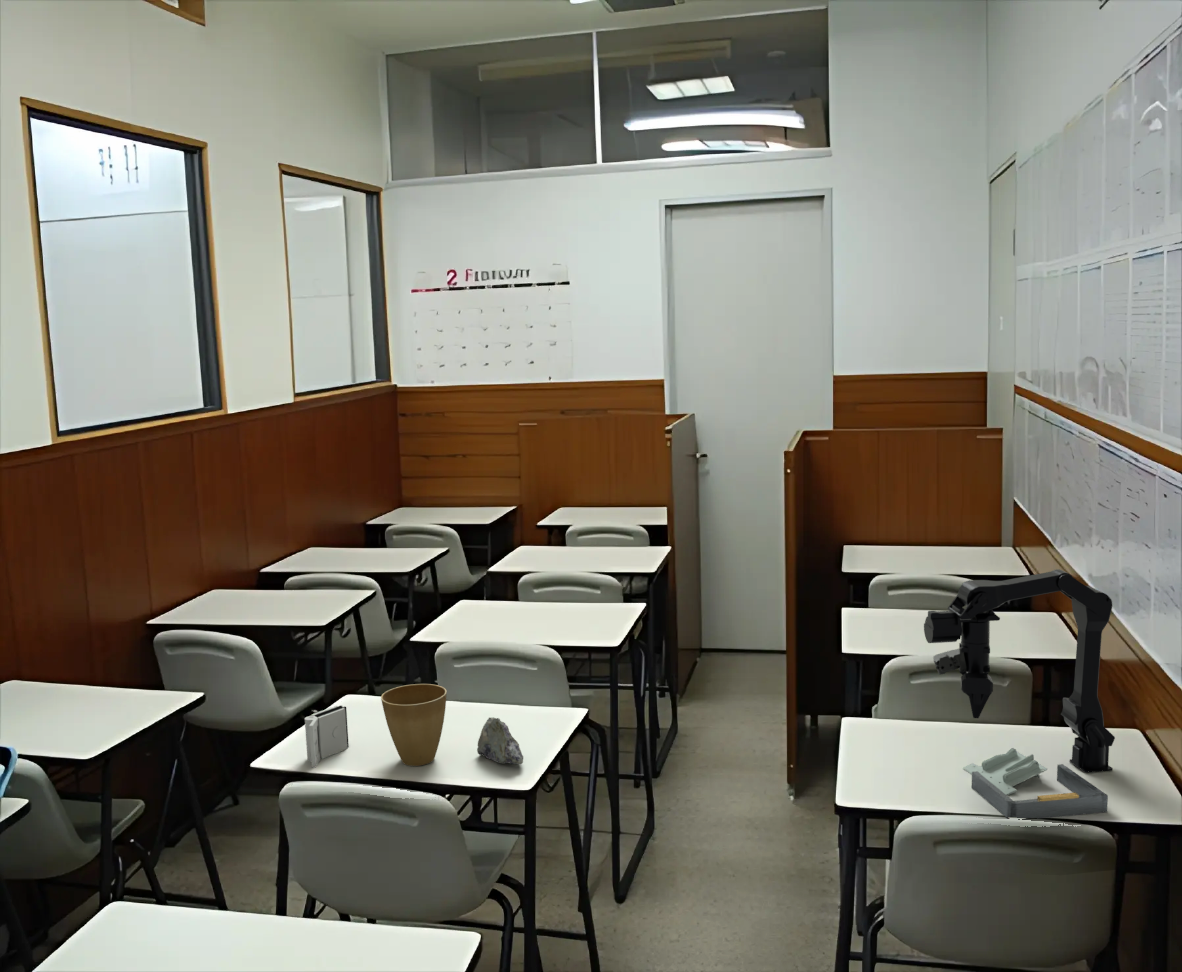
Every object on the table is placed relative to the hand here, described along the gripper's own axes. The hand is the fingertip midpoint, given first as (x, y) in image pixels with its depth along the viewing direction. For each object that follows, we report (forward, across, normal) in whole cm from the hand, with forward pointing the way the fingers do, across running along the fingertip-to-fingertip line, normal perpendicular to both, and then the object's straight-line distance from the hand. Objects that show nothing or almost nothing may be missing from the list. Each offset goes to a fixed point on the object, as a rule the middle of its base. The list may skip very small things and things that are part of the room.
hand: (974, 710), depth 237 cm
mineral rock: (+12, +17, -104) cm, 106 cm away
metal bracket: (+15, +2, +7) cm, 16 cm away
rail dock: (+14, +12, +12) cm, 22 cm away
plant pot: (+12, +21, -123) cm, 125 cm away
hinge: (+12, +23, -145) cm, 147 cm away
